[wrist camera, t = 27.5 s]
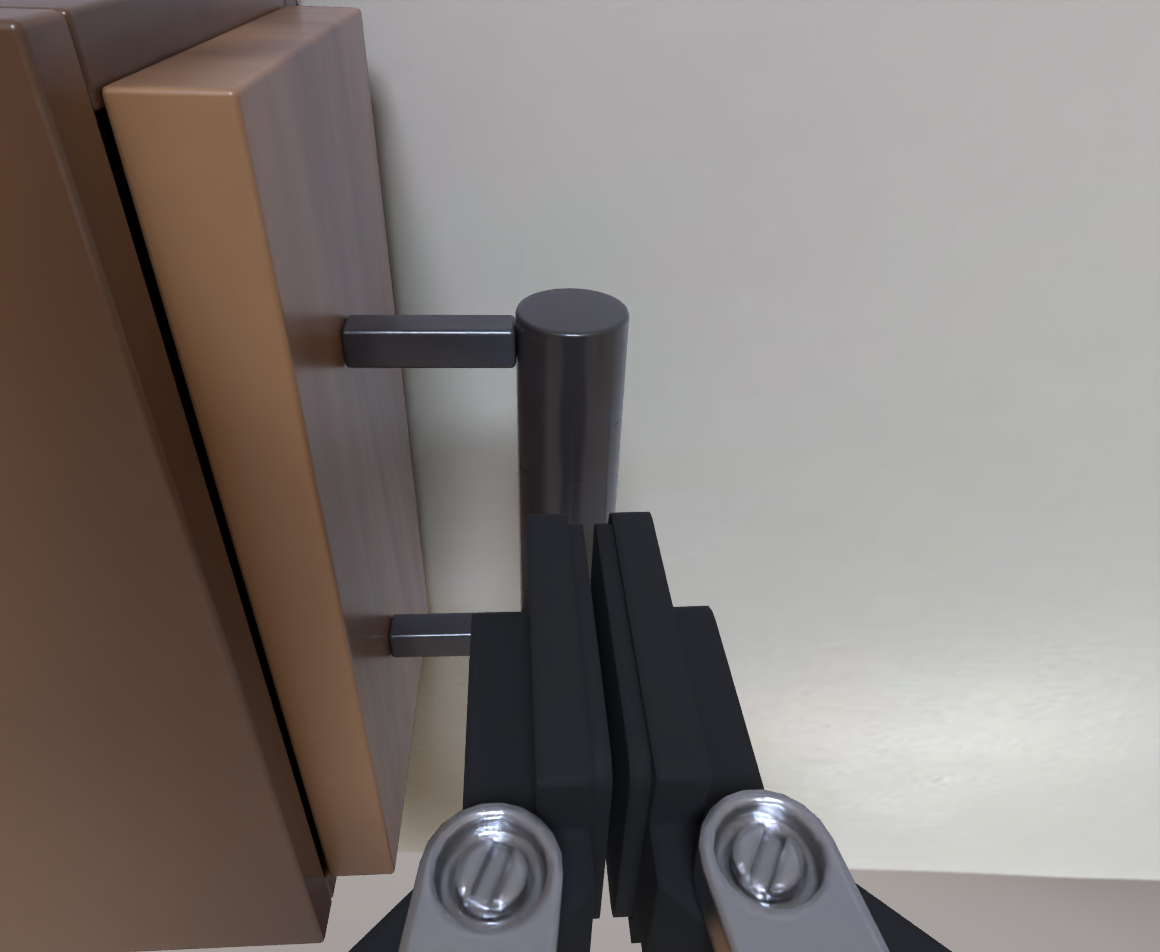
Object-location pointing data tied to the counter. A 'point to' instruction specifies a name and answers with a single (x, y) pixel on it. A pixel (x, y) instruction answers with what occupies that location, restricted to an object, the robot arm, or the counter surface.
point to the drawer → (332, 388)
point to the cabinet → (120, 555)
